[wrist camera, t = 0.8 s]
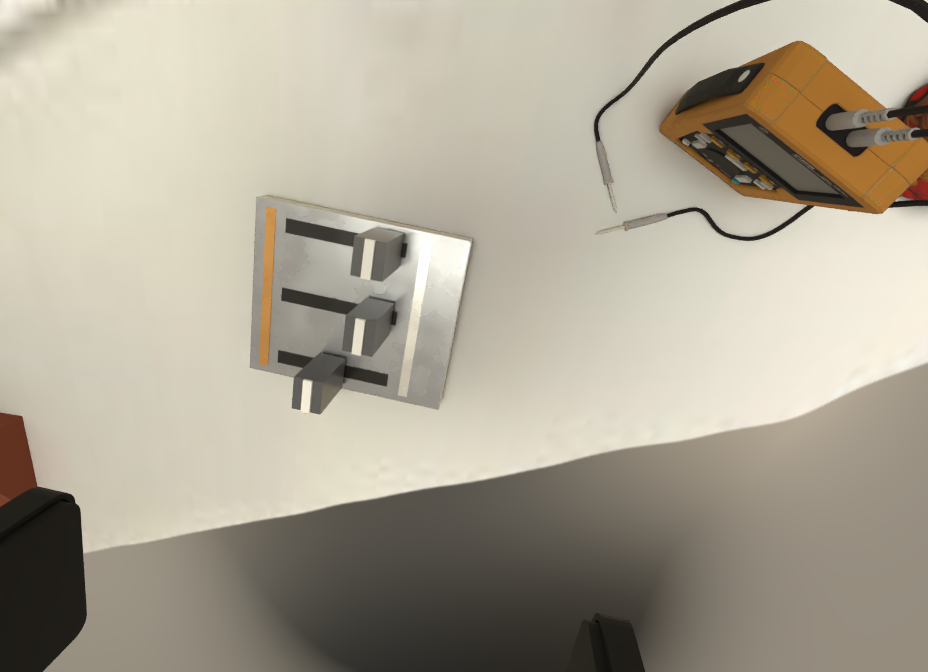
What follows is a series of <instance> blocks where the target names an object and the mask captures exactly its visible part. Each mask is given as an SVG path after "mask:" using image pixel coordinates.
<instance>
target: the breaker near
mask: <svg viewBox="0 0 928 672" xmlns="http://www.w3.org/2000/svg"><path fill="white" fill-rule="evenodd" d="M403 238H404V233H401V232H396V231H392V230H387V229H382V228H377V227H374V228H372V229H370V230H367V231H365V232H363V233H360V234H358V235H355V236H354V244H353V253H352V262H351V272H350V275H351V276H356V277H360V278H361V279H366V280H375V281H379V282H383V281H384V280H385V279H386V278H388V277H389V276H390V275H391V274H392V273H394V272H395V271H396V270H397V269H398V268H399V265H400V258H401V252H402V245H403Z"/></svg>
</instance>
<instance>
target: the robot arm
mask: <svg viewBox="0 0 928 672" xmlns="http://www.w3.org/2000/svg"><path fill="white" fill-rule="evenodd" d="M84 578H85V577H84V562H83V545H82V529H81V512H80V507H79V506H78V505H77V504H76V502H75V499H74V497H73V496H72V495H71V494H68V493H64V492H60V491H55V490H51V489H46V488H42V487H35V488H31V489H29V490H27V491H25V492H23V493H22V494H20V495H18V496H17V497H15V498H14V499H12V500H10V501H9V502H7V503H6V504H4V505H2V506H1V507H0V672H43V671H44V670H45V669H46V668H47V666H49V665H50V664H51V663H52V661H53V660H54V659H55V658H56V657H57V656H58V655H59V654H60V653H61V652H62V651H63V650H64V649H65V648H66V647H67V646H68V645H69V644H70V643H71V642H72V641H73V640H74V639H75V638H76V637H77V635H78V634H79V633H80V631H81V630H82V628H83V626H84V624H85V621H86V616H87V612H86V611H87V610H86V594H85V579H84ZM566 672H645V669H644V666H643V662H642V659H641V655H640V651H639V648H638V644H637V641H636V637H635V633H634V630H633V627H632V624H631V623H630V622H629V620H625V619H621V618H616V617H612V616H608V615H603V614H599V613H596V614H595V615H594V617H593V619H592V621H588V620H583V622H582V624H581V627H580V629H579V633H578V636H577V638H576V641H575V644H574V647H573V650H572V653H571V656H570V660H569V662H568V665H567V668H566Z"/></svg>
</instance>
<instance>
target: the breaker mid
mask: <svg viewBox="0 0 928 672" xmlns="http://www.w3.org/2000/svg"><path fill="white" fill-rule="evenodd" d="M393 307H394V303H390V302H385V301H381V300H376V299H371V298H365V299H364V300H363V301H362V302H361V303H360V304H358V305H357V306H356V307H355V308H354V309H353V310H351V311H350V312H349V313H348V314H347V315H346V317H345V326H344V336H343V345H342V351H347V352H351V354H354V355H359V356H361V355H365V356H369V357H373V355H374V354H375V353H376V351H377V350H378V349H379V348H380V346H381V345H382V344H383V342H384V341H385V340H386V338H387V337H388V336H389V334H390V328H391V321H392V314H393Z"/></svg>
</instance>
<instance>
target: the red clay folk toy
mask: <svg viewBox="0 0 928 672" xmlns="http://www.w3.org/2000/svg"><path fill="white" fill-rule="evenodd" d="M924 105H928V84H926V85H925V86H923V87H922V88H920V89H919V90H917V91H916V92H915V93H914V94H913V95H912V97H911V98H910V100H909V102H908V105H907V107H906V108H911V107H917V106H924ZM897 118H898V119H899V120H901V121H902V122H903V123H904V124H905V125H907V126H908V127H909V128H919V129H928V113H924V114H917V115H909V116H901V117H897ZM923 138H924V139H925V140H926V141H927V142H928V137H923ZM901 196H904V197H906V198H911V199H917V200H928V168H927V169H926V170H925V171H924V172H923V173H922V174H921V175H920V176H919V177H918V178H917V179H916V180H915V181H914V182H913V183H912V184H911V185H910V186H909V187H908V188H907V189H906V190H905V191H904V192H903V193H902V194H901Z"/></svg>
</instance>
